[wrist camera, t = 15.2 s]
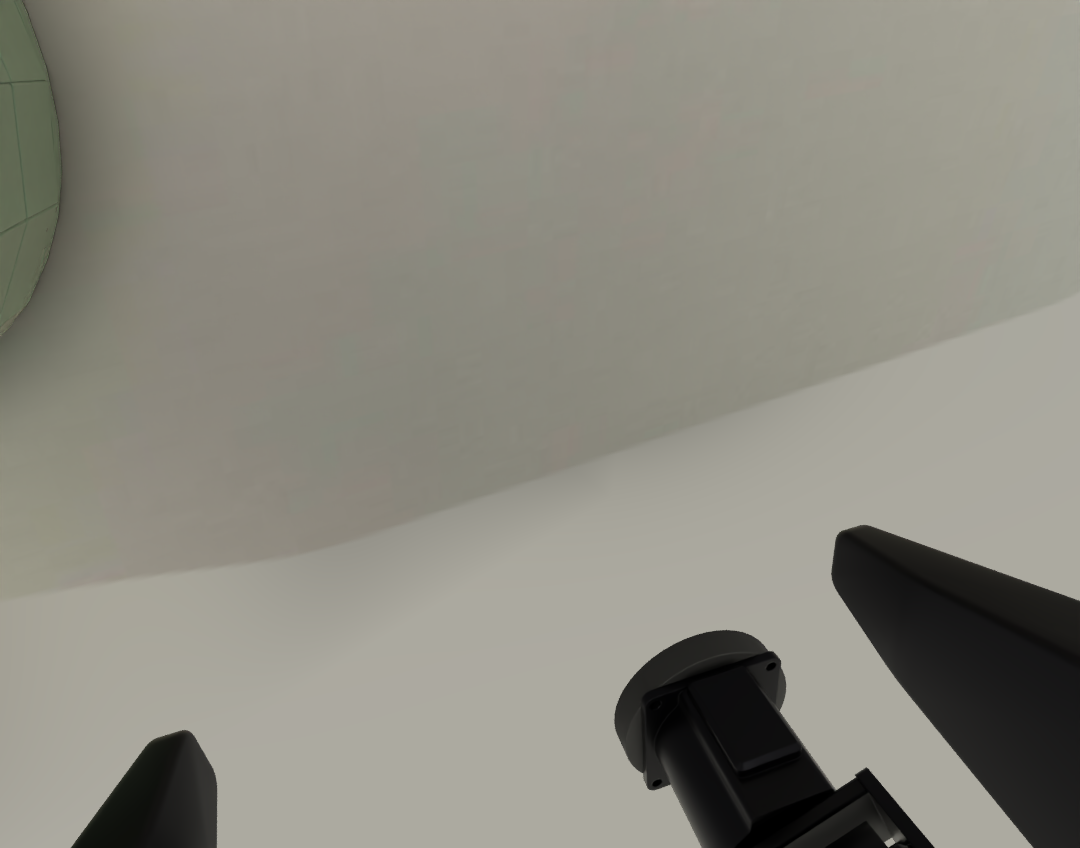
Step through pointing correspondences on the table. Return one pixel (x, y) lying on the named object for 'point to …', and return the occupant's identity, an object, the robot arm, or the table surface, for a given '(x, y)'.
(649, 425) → the table surface
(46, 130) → the mixing bowl
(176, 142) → the table surface
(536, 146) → the table surface
